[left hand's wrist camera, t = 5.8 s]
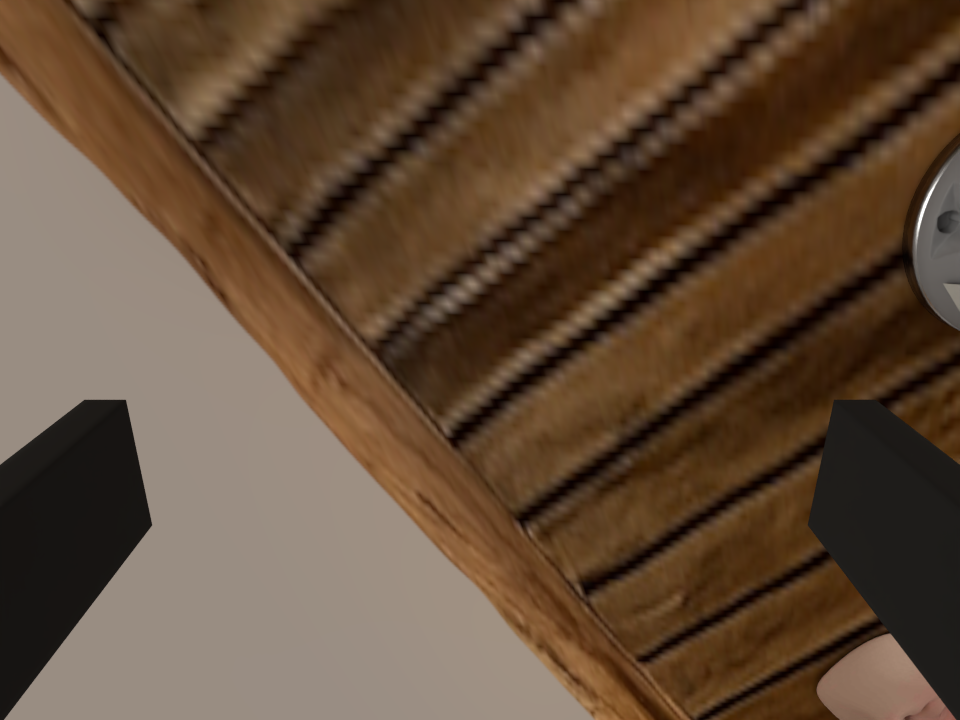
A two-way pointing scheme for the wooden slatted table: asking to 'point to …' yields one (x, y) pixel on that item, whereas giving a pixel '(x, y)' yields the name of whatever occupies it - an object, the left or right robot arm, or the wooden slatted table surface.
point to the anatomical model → (880, 686)
